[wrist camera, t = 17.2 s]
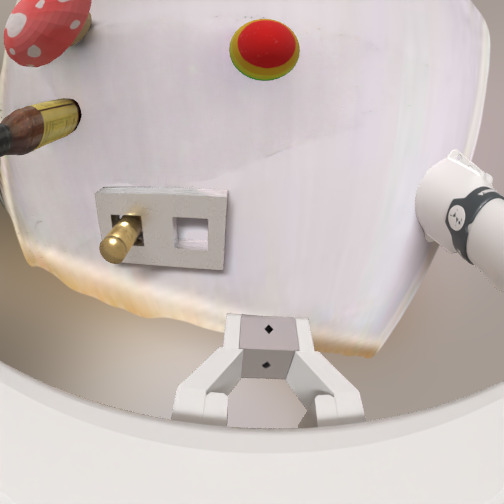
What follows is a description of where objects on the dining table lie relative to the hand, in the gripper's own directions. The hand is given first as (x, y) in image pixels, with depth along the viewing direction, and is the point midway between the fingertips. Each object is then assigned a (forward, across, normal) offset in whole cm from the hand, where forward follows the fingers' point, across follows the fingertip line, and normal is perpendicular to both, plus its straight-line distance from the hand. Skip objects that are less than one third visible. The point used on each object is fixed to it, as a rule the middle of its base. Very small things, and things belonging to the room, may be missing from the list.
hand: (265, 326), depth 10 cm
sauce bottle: (+30, +30, -7) cm, 43 cm away
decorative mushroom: (+30, +29, -22) cm, 47 cm away
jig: (+30, +14, +12) cm, 35 cm away
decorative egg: (+31, +1, -14) cm, 34 cm away
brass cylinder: (+30, +19, +12) cm, 37 cm away
